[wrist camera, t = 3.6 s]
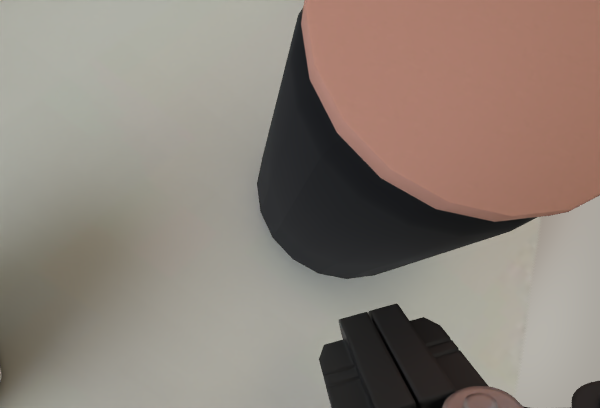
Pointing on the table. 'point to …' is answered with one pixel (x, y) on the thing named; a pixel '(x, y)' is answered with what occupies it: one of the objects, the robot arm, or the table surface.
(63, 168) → the table surface
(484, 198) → the coffee jar
